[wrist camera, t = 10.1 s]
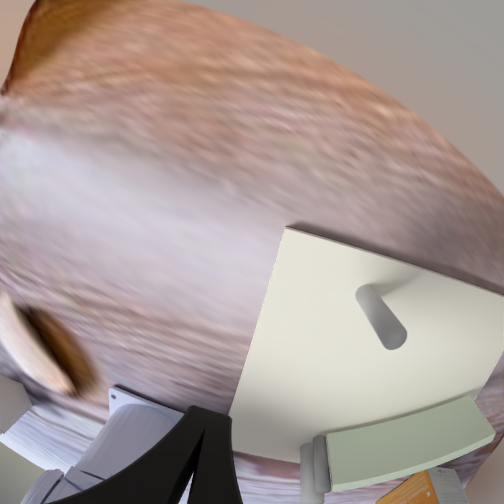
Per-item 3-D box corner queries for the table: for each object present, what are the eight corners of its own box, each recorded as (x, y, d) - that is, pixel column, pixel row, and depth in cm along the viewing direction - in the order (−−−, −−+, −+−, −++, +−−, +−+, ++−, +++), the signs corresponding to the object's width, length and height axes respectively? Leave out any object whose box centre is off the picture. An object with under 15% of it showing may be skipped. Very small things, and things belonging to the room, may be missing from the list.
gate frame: (419, 461, 21) (436, 508, 14) (220, 438, 21) (204, 497, 15) (517, 300, 16) (566, 331, 10) (285, 226, 17) (285, 248, 11)
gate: (313, 444, 19) (315, 494, 14) (312, 436, 19) (315, 487, 14) (466, 403, 17) (492, 441, 12) (469, 394, 17) (496, 432, 12)
